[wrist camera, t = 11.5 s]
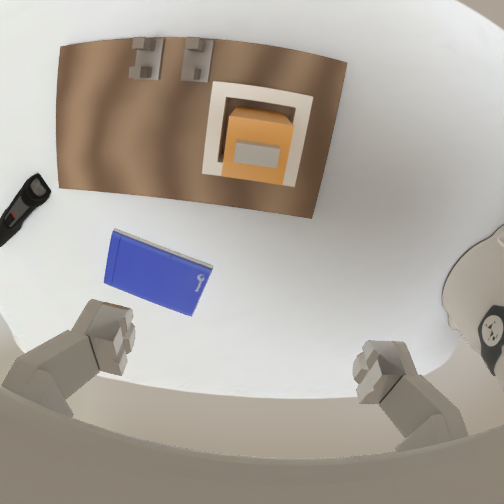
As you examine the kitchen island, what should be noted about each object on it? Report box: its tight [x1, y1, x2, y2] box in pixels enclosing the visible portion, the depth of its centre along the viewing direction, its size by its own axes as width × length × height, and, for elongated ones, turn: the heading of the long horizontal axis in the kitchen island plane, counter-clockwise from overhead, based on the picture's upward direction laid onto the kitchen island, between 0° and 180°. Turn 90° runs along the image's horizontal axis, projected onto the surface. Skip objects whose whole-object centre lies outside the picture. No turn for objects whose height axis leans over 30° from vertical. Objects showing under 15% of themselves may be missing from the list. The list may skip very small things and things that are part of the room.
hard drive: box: [104, 229, 213, 317], centre depth 36 cm, size 2×8×12 cm
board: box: [56, 37, 347, 219], centre depth 25 cm, size 28×16×5 cm, turn 81°
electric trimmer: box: [0, 174, 51, 247], centre depth 31 cm, size 4×16×3 cm, turn 120°
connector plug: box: [221, 105, 294, 185], centre depth 22 cm, size 4×4×10 cm
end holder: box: [202, 81, 313, 187], centre depth 25 cm, size 8×8×3 cm
